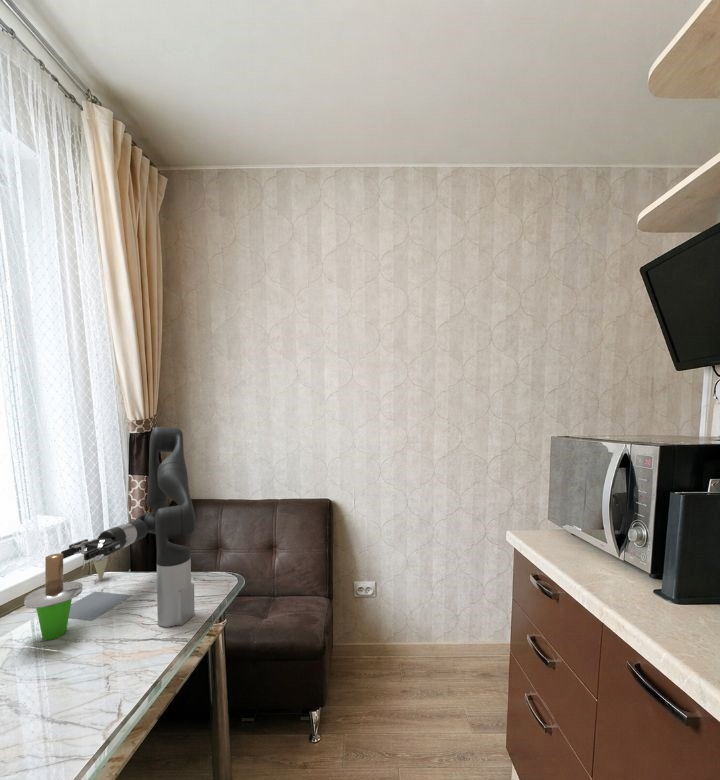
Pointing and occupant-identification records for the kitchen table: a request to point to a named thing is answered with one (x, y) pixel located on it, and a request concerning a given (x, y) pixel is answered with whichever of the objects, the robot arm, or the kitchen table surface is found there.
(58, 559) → the lid
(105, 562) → the ice cream cone
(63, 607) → the cup
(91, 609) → the mat
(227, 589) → the kitchen table surface
